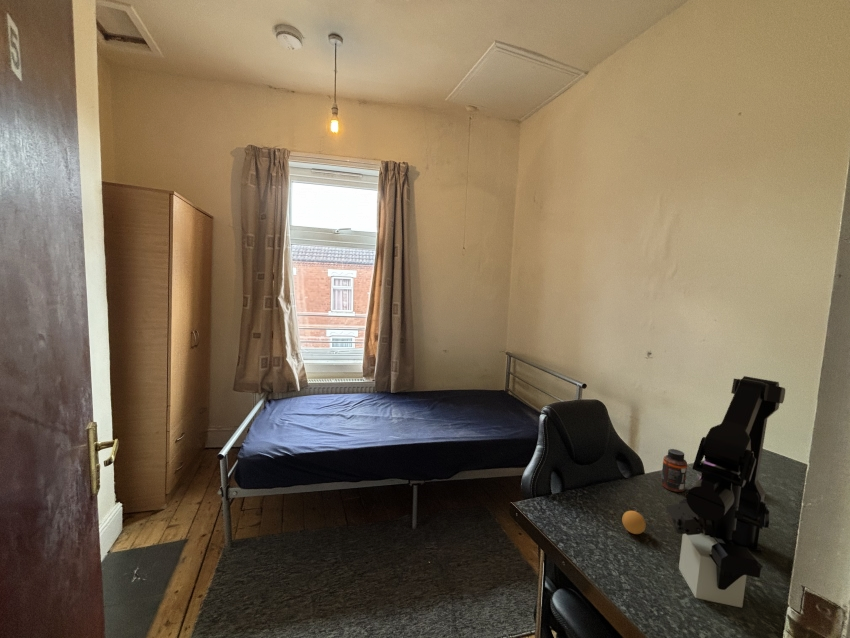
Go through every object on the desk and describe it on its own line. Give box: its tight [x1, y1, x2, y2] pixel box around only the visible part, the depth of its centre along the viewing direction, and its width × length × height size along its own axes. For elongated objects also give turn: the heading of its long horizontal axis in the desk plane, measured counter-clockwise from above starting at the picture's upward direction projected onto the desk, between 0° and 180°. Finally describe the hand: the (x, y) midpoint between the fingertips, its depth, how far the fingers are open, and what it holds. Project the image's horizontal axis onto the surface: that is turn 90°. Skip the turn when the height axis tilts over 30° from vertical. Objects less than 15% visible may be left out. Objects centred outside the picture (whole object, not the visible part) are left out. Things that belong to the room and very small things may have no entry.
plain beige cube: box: [678, 533, 747, 608], centre depth 74 cm, size 8×8×9 cm
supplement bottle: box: [660, 448, 688, 493], centre depth 110 cm, size 6×6×11 cm
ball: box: [621, 510, 647, 535], centre depth 90 cm, size 5×5×5 cm
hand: (710, 572), depth 74 cm, fingers closed on plain beige cube, 8 cm apart
